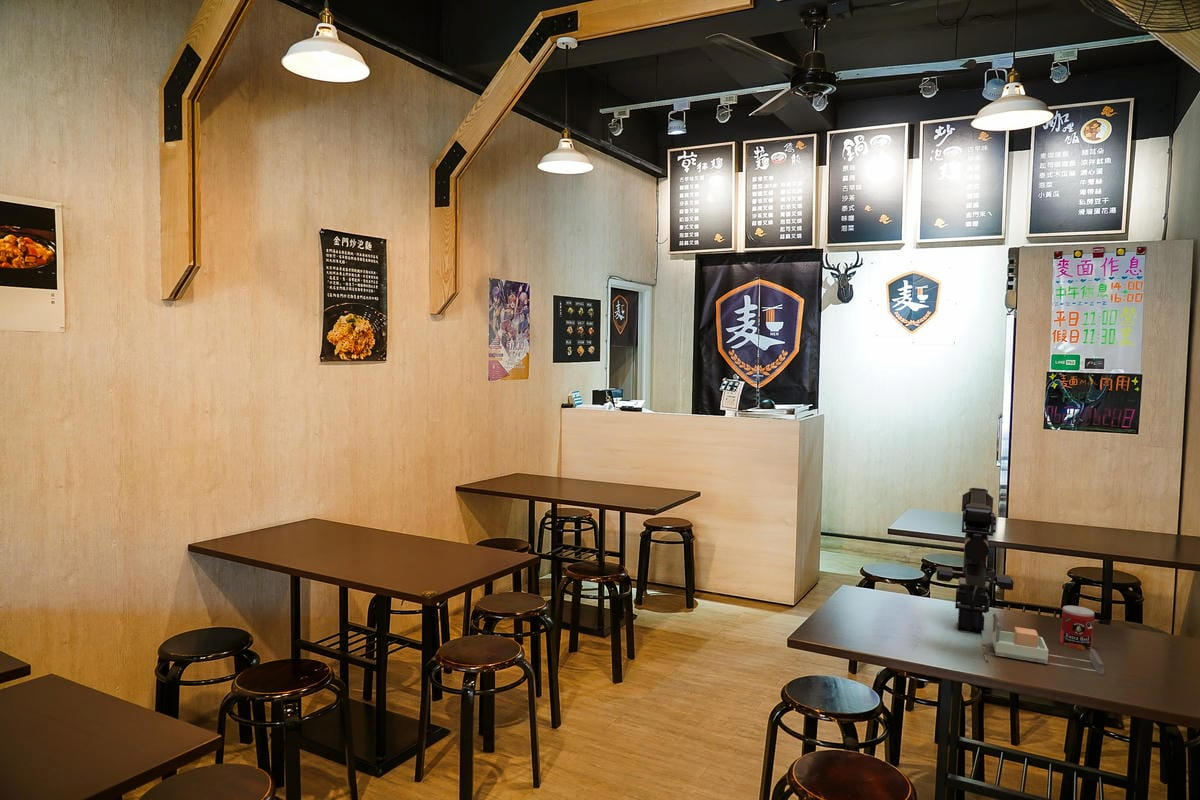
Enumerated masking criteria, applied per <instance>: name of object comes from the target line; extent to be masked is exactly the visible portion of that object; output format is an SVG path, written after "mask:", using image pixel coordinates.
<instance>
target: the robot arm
mask: <svg viewBox="0 0 1200 800" xmlns="http://www.w3.org/2000/svg"><path fill="white" fill-rule="evenodd" d="M961 498H962V499H961V512H962V521H961V522H962V523H961V533H964V545H963V546H964V549H963V562H962V563H963V564H962V572H959V571H953V568H952V567H948V566H947V567H946V566H938V567H937V568H936V580H937V581H941V582H946V583H950V582H952V581H953V580H954V579H955V580H958V581H957V582H958V585H959V586H958V587H956V591H955V605H954V607H955V608H954V609H958V614H957V623H956V628H957V631H960V632H966V633H971V634H979V635H983V632H982V631H984V630H985V629H984V628H985V615H984V614H987V613H989V612H990V605H991V604H990V602H991V597H990V596H989V594H988V592H986V590H987V591H989V590H990V584H992V585H996V586H997V587H998V589H1000V590H1008V591H1014V579H1013V578H1012V577H1011V575H1009V574H1003V573H995V568H990V567H987V562H988V555H989V551H990V549H989V536H991V537H994V533H996V532H997V531H996V530H997V517H996V516H995V515H996V514H995V512H993V511H994V510H993V509H994V497H992V496H991V495H990V494H989V490H988V489H986V488H982V487H980V488H979V487H969V489H968V491H967V492H966V493H964V494H962V497H961Z"/></svg>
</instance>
